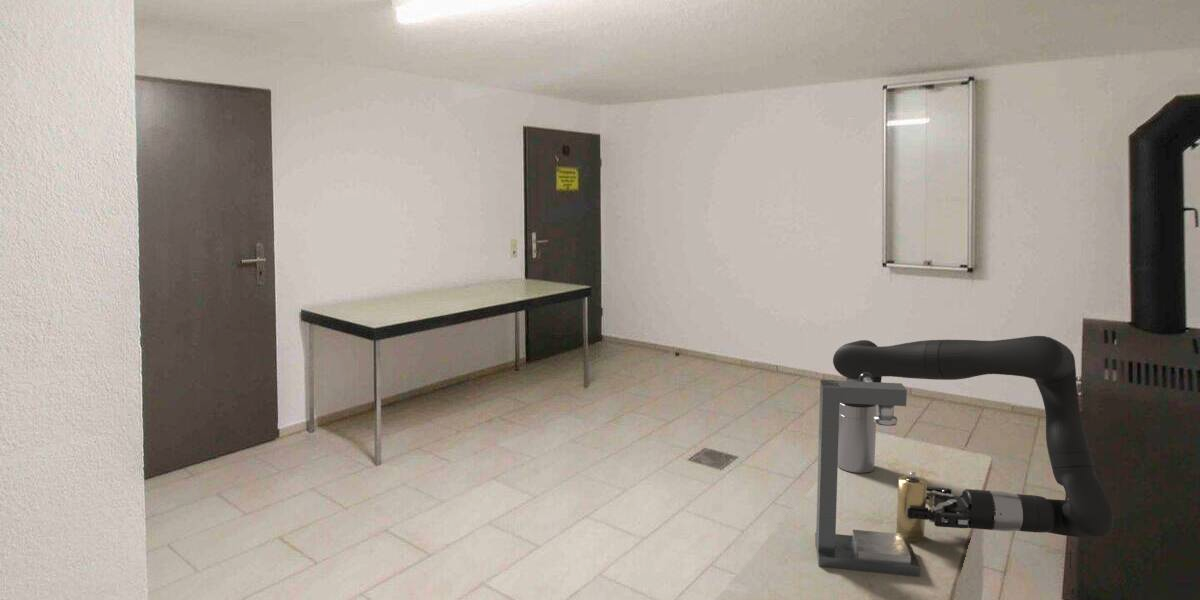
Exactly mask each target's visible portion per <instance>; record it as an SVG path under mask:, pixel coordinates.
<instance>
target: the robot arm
mask: <svg viewBox="0 0 1200 600" xmlns="http://www.w3.org/2000/svg"><path fill="white" fill-rule="evenodd" d="M832 362H833V366H834V370H836V371H837V373H838V374H839V375H841V376H843V377H844V378H846V380H845V381H855V382H859V376H860V374H862V373H864V372H868V373H870V374H872V376H873V378H874V381H873V382H879V383H882V379H883V377H897V378H903V379H904V378H905V379H917V380H918V379H920V380H938V381H939V380H942V381H946V380H947V381H950V380H951V381H953V380H957V381H958V380H966V379H969V378H975V377H980V376H985V375H1004V376H1005V375H1006V376H1015V377H1024V378H1028V379H1031V380H1034V381H1035V383H1036V386H1037V388H1038V389H1039V392H1040V395H1041V397H1042V401H1043V405H1044V412H1045V440H1046V447H1047V453H1048V457H1049V462H1050V465H1051V470H1052V473H1053V477H1054V479H1055V481H1056V483H1057V484H1058V485H1060V486H1062V487H1063V488H1064V490H1065V494H1066V497H1067V499H1054V498H1053V499H1052V498H1046V497H1043V496H1041V495H1032V494H1019V493H1012V492H1006V491H999V490H998V491H997V490H984V489H972V488H971V489H970V488H965V489H964V490H963V491H962V494H961V495H959V496H958V495H953V494H952V489H951V488H946V487H936V486H935V487H934V486H927V488H926V505H927V506H928V507H929V508H928V507H926V508H925V507H913V506H909V507H908V508H907V516H908V517H909V518H912V519H924V520H925V521H928V522H930V523H934V527H939V528H952V529H953V528H954V529H976V530H988V531H1000V532H1024V533H1041V534H1042V533H1043V534H1044V533H1047V534H1049V533H1050V534H1052V535H1053V534H1054V535H1059V536H1065V537H1073V538H1074V537H1075V538H1095V537H1103V536H1106V535H1107V534H1109V533H1110V532H1111V531H1112V530H1113V527H1114V524H1115V516H1114V510H1113V507H1112V504H1111V502H1110V499H1109V497H1108V495H1107V493H1106V491H1105V490H1104V487H1103V485H1102V483H1101V481H1100V480H1099V478H1098V476H1097V473H1096V469H1095V464H1094V461H1093V457H1092V454H1091V453H1092V452H1091V448H1090V445H1089V442H1088V437H1087V435H1086V431H1085V427H1084V423H1083V417H1082V415H1081V409H1080V408H1081V407H1080V403H1079V402H1080V401H1079V396H1078V394H1079V393H1078V385H1077V384H1078V383H1077V371H1076V370H1077V368H1076V359H1075V356H1074V353H1073V352H1072V350H1071V349H1070V348H1069V347H1068V346H1066V345H1065V344H1063V343H1062V342H1061V341H1058V340H1056V339H1054V338H1052V337H1049V336H1046V335H1033V336H1031V335H1030V336H1023V337H1016V338H1015V337H1014V338H1007V339H997V340H996V339H995V340H978V339H976V340H975V339H929V340H919V341H911V342H910V341H909V342H905V343H900V344H895V345H887V346H886V345H885V346H878V345H877V344H876V343H875V342H873V341H870V340H868V339H861V340H856V341H852V342H848V343H845V344H843V345H842V346H840V347H839V348H838V349H837V350H836V351H835V353H834V354H833V358H832ZM877 412H878V405H870V404H849V403H840V404H839V436H838V468H839V469H840V470H843V471H847V472H850V473H856V474H857V473H860V474H864V473H870V472H874V470H875V463H876V462H875V461H876V459H875V458H876V435H877V434H876V433H877V424H876V423H874V416H875V415H877Z"/></svg>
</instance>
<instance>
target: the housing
mask: <svg viewBox="0 0 1200 600" xmlns="http://www.w3.org/2000/svg"><path fill="white" fill-rule="evenodd" d="M916 474H917V473H916V472H915V471H910V472H909V475H900V476H899V477H898V484H897V486H898V487H897V507H896V508H897V509H896V511H897V512H896V527H895V528H896V529H895V530H896V531H895V533H897V534H902V536H903V539H904V540H906V541H909V542H910V543H911V544H912V543H913V544H917V543H922V542H924V541H925V531H926V530H925V527H926V524H925V523H926V520H924V519H912V518H909V517H908V516H907V508H908V507H909V506H913V507H925V508H927V504H926V488H927V487H928V484H927V483H928V482H927V480H926V479H925V478H922V477H919V476H916Z"/></svg>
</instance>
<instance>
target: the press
mask: <svg viewBox="0 0 1200 600" xmlns="http://www.w3.org/2000/svg"><path fill="white" fill-rule="evenodd" d="M873 381H874V378H873V376H872V374H870V373H868V372H864V373H862V374H860V376H859V382H855V381H846V380H838V379H820V384H819V413H818V414H819V416H818V417H819V419H818V449H817V450H818V455H817V487H816V488H817V490H816V493H817V494H816V524H815V525H816V529H815V531H816V532H815V533H814V535H815V537H814V543H815V550H816V554H817V555H816V556H817V562H818V563H817V564H818V567H822V568H833V569H841V570H850V571H859V572H861V571H862V572H872V573H880V574H890V575H891V574H892V575H900V576H902V575H903V576H910V577H920V574H921V573H920V572H921V571H920V570H921V566H920V564H919V561H918V559H917V556H916V554H915V552H914V549H913V547H912V545H911V544H912V543H911V542H909V541H906V540H904V539H903V536H902V534H897V533H896V532H895V533H894V532H887V531H886V532H885V531H884V532H883V531H872V530H861V529H852V534H851V535H850V534H837V533H836V530H837V529H836V528H837V501H838V500H837V499H838V492H837V491H838V468H839V467H838V436H839V404H840V403H849V404H870V405H877V412H876V415H875V416H874V423H876V425H879V426H885V427H893V426H896V425H898V417H896V416H895V407H896V406H897V407H907V399H908V398H907V395H908V394H907V393H908V390H907V389H906V387H905V386H904V384H903V383H902V382H900V383H899V382H881V383H879V382H873Z"/></svg>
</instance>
